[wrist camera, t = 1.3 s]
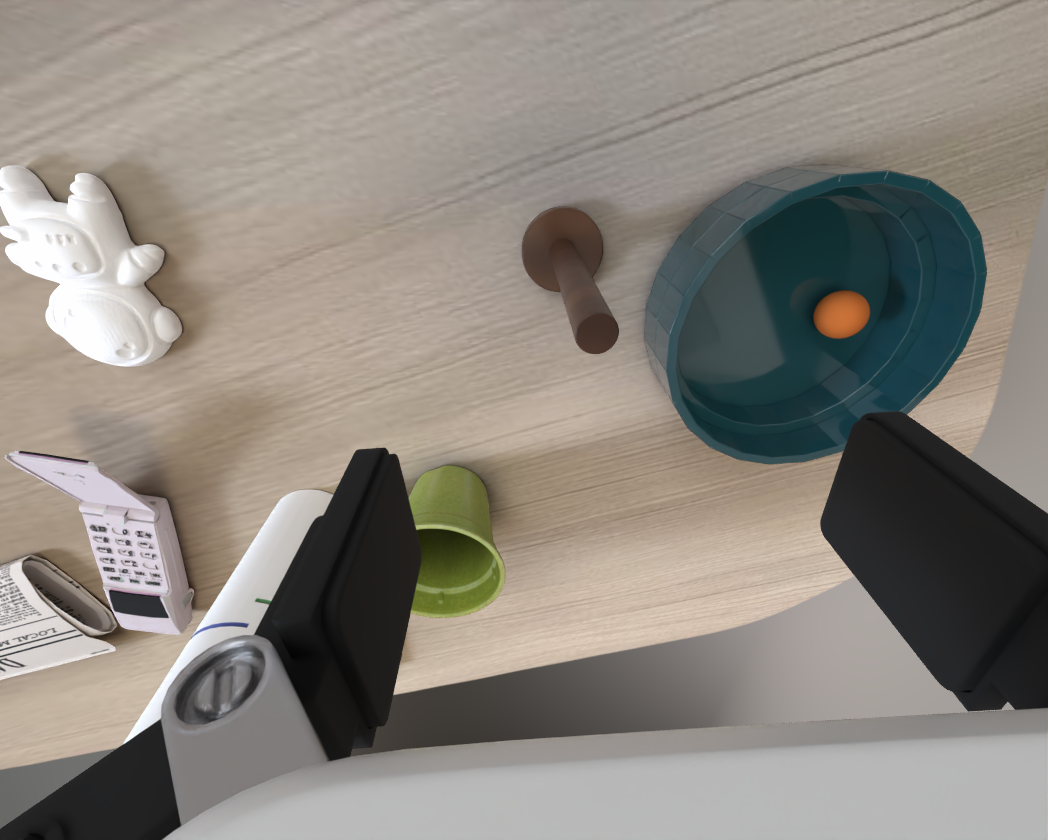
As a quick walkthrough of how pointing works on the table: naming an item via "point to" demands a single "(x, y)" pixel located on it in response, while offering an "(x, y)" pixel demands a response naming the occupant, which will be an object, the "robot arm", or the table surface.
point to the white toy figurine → (88, 268)
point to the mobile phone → (124, 542)
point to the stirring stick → (571, 272)
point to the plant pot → (454, 544)
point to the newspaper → (47, 618)
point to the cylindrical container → (247, 586)
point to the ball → (841, 314)
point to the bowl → (812, 307)
